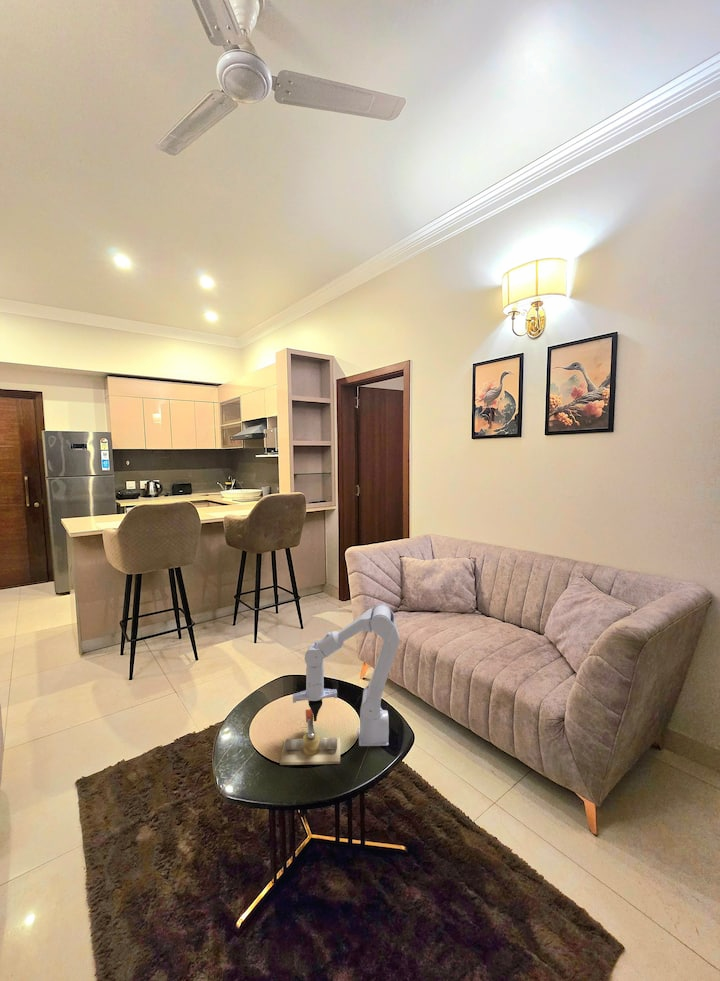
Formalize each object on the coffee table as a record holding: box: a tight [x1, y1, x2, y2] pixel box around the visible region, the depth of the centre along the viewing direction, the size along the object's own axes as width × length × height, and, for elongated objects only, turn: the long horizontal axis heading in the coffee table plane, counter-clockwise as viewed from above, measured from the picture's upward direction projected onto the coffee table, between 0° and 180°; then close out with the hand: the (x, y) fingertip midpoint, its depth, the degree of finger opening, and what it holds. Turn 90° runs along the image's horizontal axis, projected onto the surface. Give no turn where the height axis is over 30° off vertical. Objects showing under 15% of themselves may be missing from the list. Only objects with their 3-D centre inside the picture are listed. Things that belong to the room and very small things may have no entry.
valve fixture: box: [279, 731, 341, 766], centre depth 125 cm, size 18×10×5 cm, turn 93°
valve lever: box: [305, 708, 316, 739], centre depth 129 cm, size 12×2×2 cm, turn 12°
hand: (314, 719), depth 133 cm, fingers closed
